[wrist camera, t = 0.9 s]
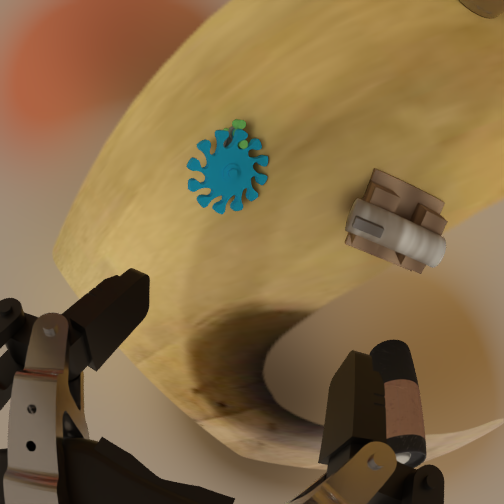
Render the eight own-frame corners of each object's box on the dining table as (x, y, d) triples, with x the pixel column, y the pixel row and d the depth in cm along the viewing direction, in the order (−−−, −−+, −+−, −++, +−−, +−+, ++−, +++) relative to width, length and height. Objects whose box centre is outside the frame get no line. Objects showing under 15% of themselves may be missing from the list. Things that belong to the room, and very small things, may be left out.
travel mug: (418, 341, 37) (439, 450, 20) (399, 373, 41) (406, 474, 23) (377, 334, 39) (384, 450, 21) (360, 367, 42) (356, 473, 25)
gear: (256, 220, 35) (180, 210, 29) (235, 205, 39) (166, 195, 33) (284, 134, 31) (208, 108, 25) (258, 129, 35) (190, 108, 30)
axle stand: (334, 237, 35) (333, 266, 28) (363, 163, 30) (372, 173, 23) (410, 268, 33) (425, 302, 26) (442, 201, 29) (468, 221, 21)
